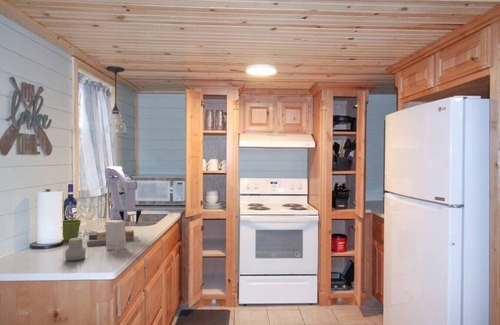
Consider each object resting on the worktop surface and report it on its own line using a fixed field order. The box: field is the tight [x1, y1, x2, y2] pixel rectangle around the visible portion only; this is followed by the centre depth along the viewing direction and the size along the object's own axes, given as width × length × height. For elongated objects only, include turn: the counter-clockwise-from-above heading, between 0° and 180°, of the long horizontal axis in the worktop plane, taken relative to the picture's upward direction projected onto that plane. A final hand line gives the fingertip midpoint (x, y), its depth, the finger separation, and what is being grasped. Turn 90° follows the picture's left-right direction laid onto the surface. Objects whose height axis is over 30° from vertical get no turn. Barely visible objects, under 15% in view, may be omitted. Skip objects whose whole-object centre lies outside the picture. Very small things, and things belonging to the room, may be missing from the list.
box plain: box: [95, 230, 106, 240], centre depth 216 cm, size 4×4×5 cm
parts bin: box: [87, 233, 106, 247], centre depth 212 cm, size 17×14×3 cm
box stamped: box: [125, 229, 135, 241], centre depth 218 cm, size 4×4×5 cm
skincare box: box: [104, 220, 127, 252], centre depth 197 cm, size 8×7×16 cm
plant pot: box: [62, 219, 82, 242], centre depth 217 cm, size 12×12×11 cm
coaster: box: [126, 236, 141, 243], centre depth 219 cm, size 11×11×1 cm
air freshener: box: [64, 237, 86, 262], centre depth 178 cm, size 11×8×10 cm
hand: (130, 223), depth 219 cm, fingers open, 7 cm apart
